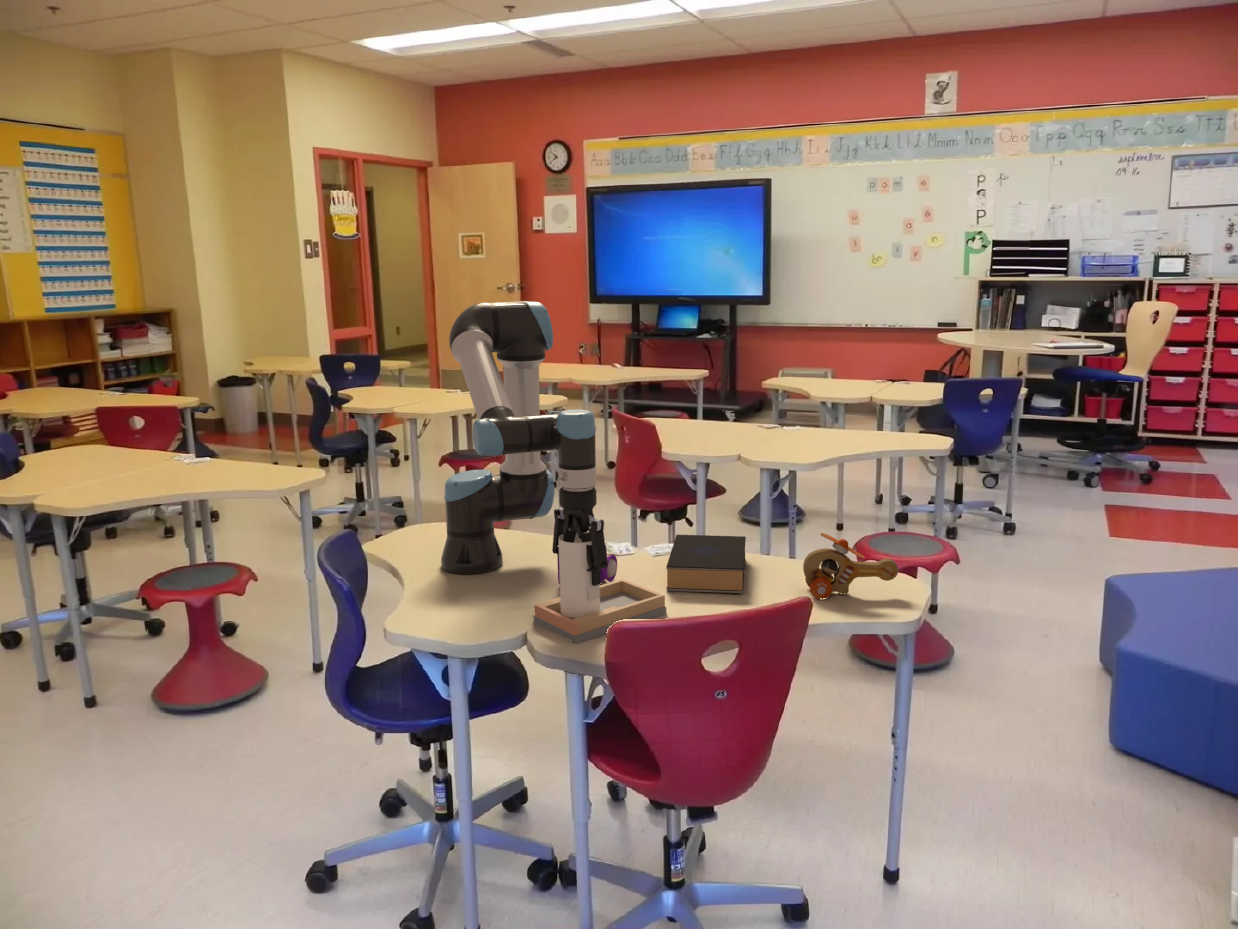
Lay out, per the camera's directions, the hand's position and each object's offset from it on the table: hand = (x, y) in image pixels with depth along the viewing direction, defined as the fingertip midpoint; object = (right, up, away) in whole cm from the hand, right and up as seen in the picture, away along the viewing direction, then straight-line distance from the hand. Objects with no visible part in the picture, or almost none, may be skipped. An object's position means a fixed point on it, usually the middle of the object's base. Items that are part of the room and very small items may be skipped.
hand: (580, 593), depth 194 cm
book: (+29, 0, +30) cm, 42 cm away
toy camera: (+1, -2, +25) cm, 25 cm away
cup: (0, -4, +1) cm, 4 cm away
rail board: (+4, -6, +5) cm, 8 cm away
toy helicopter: (+59, -3, +16) cm, 61 cm away
